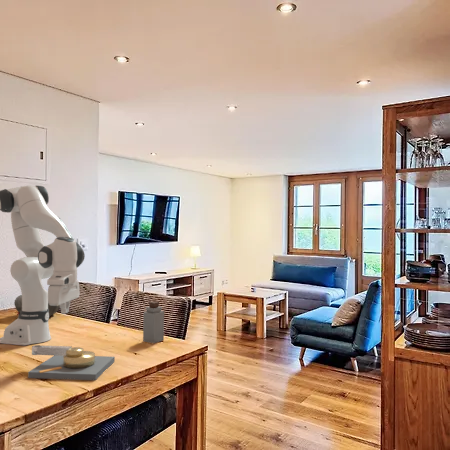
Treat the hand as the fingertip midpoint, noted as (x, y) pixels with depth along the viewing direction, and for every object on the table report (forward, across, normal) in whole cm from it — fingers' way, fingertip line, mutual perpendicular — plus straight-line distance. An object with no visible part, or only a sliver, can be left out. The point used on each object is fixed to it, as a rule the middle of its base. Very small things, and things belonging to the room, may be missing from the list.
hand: (64, 313), depth 161 cm
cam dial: (+17, +9, +3) cm, 19 cm away
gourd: (+18, -78, -52) cm, 96 cm away
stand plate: (+19, +9, +8) cm, 22 cm away
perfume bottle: (+19, -33, +28) cm, 47 cm away
